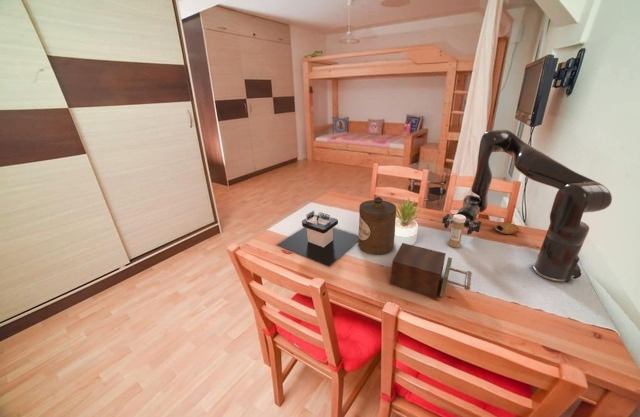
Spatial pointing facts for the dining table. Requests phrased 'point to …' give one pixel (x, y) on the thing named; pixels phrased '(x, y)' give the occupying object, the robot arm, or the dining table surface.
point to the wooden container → (377, 226)
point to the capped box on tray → (320, 239)
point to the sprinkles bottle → (456, 230)
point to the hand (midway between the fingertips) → (457, 229)
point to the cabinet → (417, 269)
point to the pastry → (506, 228)
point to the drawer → (445, 281)
